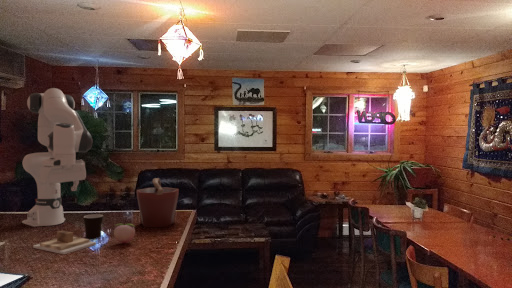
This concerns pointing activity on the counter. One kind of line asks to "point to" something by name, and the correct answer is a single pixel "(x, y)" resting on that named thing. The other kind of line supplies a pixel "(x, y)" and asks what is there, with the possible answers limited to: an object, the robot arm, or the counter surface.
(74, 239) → the birch lid
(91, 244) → the rubber mat
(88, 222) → the coffee mug
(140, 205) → the bucket
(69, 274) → the counter surface
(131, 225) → the decorative fruit
